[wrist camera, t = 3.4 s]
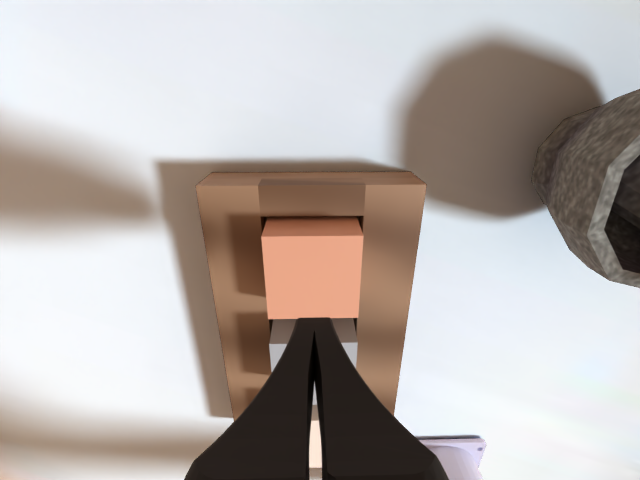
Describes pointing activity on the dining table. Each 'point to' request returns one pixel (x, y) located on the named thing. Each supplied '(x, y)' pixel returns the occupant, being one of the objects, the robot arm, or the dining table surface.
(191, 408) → the dining table surface
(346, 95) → the dining table surface
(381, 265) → the key block
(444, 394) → the dining table surface
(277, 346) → the slate key
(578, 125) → the mortar and pestle
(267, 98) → the dining table surface
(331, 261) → the terracotta key
